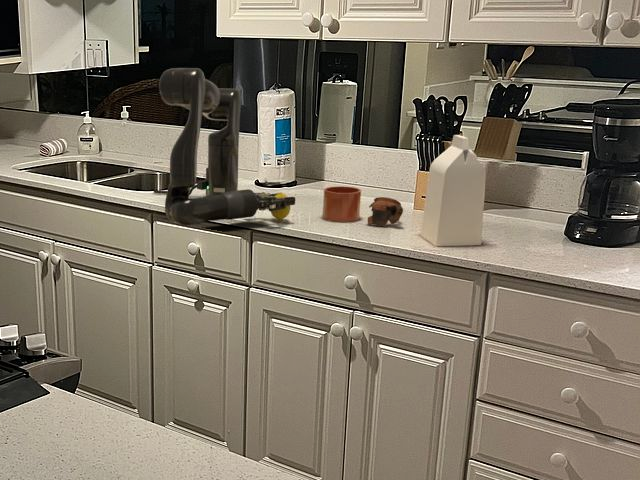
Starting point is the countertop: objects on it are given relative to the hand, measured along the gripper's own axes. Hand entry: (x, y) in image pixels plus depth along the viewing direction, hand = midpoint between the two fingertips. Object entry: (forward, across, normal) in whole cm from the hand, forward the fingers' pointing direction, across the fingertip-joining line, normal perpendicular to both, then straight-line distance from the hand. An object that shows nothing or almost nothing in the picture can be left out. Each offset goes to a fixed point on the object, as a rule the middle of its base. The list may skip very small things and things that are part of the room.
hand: (288, 198), depth 260 cm
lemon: (-3, 0, +6) cm, 7 cm away
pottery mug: (+21, -17, +6) cm, 28 cm away
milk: (+24, -39, +6) cm, 46 cm away
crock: (+15, -5, +6) cm, 17 cm away
